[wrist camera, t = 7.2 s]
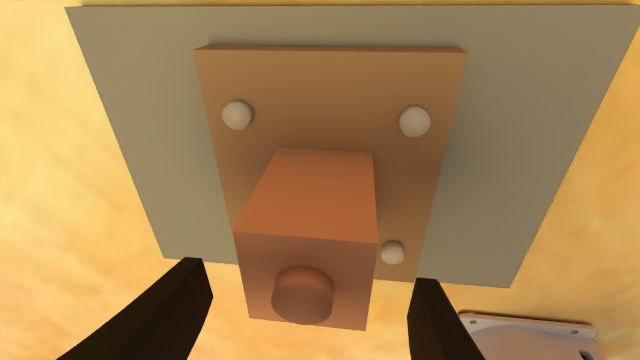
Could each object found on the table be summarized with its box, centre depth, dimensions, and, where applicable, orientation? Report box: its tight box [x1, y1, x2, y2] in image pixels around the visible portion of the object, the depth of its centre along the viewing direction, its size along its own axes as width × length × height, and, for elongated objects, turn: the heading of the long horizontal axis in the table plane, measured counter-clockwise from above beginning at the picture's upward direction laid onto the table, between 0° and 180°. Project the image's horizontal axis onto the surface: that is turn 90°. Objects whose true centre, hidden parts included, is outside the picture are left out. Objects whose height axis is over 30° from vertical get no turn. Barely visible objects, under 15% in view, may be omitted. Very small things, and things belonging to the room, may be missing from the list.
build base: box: [64, 4, 640, 288], centre depth 16 cm, size 24×16×3 cm, turn 91°
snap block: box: [233, 147, 378, 331], centre depth 13 cm, size 4×4×7 cm
